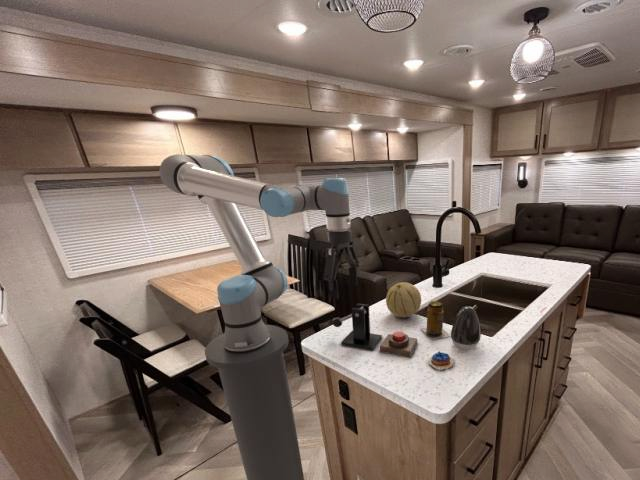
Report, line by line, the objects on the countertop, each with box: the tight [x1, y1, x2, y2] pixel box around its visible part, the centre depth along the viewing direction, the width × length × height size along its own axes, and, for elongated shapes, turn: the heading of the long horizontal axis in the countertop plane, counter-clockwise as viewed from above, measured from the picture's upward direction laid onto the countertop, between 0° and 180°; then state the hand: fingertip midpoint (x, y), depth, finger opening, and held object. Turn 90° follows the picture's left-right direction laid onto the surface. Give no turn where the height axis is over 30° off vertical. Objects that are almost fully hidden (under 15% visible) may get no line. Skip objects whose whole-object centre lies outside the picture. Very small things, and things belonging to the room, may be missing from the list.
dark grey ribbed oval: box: [450, 304, 482, 351], centre depth 110 cm, size 10×10×15 cm
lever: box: [332, 306, 366, 328], centre depth 114 cm, size 14×4×4 cm, turn 71°
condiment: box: [421, 300, 449, 340], centre depth 120 cm, size 7×8×12 cm
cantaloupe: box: [385, 281, 422, 318], centre depth 133 cm, size 15×15×15 cm
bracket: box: [340, 303, 383, 351], centre depth 114 cm, size 12×9×14 cm
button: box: [392, 330, 406, 341], centre depth 111 cm, size 4×4×2 cm
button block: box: [379, 333, 418, 357], centre depth 112 cm, size 11×9×4 cm
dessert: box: [428, 350, 454, 371], centre depth 103 cm, size 8×7×6 cm
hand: (344, 291), depth 110 cm, fingers open, 13 cm apart
